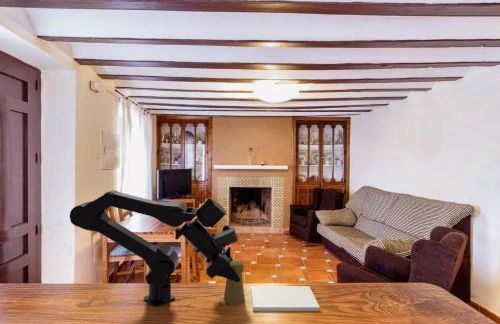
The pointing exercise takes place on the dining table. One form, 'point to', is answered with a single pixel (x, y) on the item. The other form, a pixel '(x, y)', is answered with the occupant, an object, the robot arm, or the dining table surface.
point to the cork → (235, 285)
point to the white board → (283, 298)
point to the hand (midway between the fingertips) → (239, 276)
